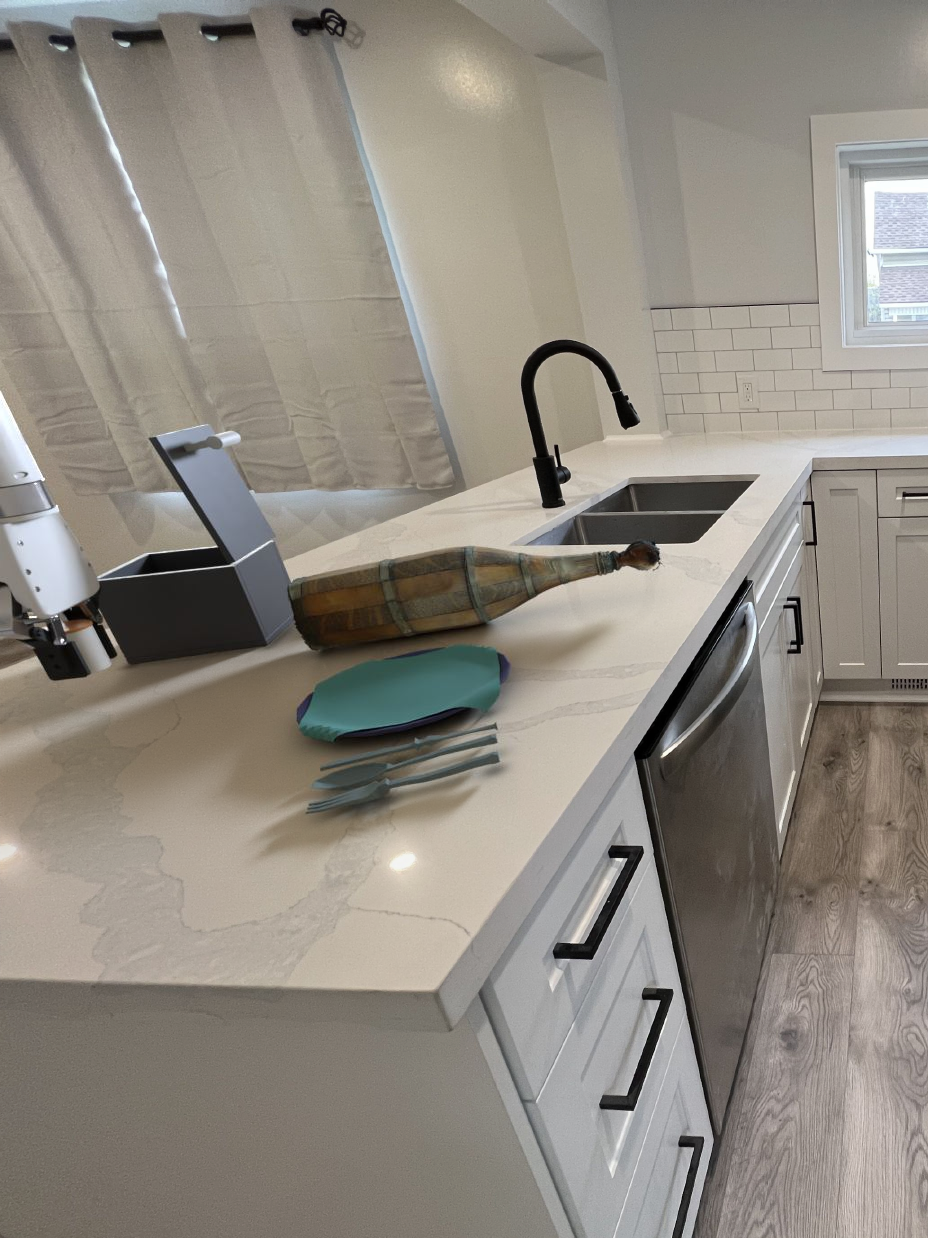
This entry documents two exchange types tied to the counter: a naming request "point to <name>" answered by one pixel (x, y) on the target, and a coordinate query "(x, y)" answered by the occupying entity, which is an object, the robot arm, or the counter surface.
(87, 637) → the white cylinder
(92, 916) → the counter surface
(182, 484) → the lid
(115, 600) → the dark grey lidded box
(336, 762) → the cutlery set
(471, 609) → the decorative bottle
